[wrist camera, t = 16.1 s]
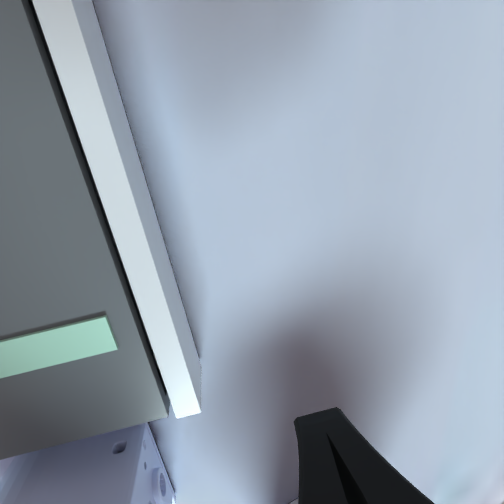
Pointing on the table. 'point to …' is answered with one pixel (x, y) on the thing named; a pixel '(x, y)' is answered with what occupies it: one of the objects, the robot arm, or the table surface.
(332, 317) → the table surface
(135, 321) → the block
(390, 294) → the table surface
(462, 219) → the table surface
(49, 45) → the tray
